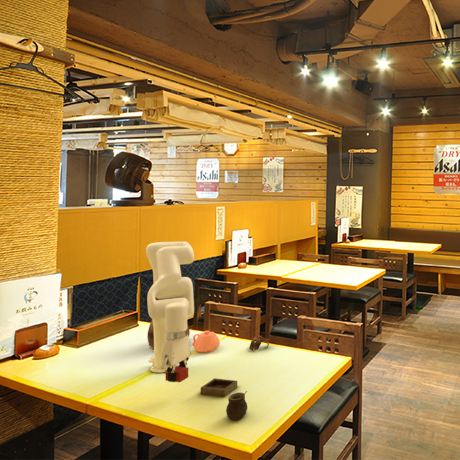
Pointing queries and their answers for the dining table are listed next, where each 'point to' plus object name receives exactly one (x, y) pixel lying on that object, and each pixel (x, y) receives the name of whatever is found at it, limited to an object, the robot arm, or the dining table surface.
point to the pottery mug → (258, 342)
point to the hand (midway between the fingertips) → (177, 377)
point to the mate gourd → (236, 406)
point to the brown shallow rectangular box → (219, 387)
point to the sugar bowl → (206, 342)
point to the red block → (179, 373)
